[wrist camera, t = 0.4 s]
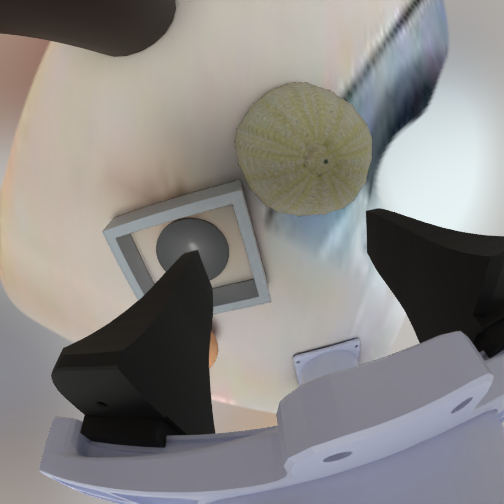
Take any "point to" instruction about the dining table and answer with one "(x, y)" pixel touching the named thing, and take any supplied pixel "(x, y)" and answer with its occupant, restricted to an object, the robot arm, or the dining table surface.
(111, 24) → the bottle
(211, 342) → the ball
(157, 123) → the dining table surface
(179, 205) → the corral
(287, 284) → the dining table surface
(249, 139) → the sea urchin shell
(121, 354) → the robot arm
